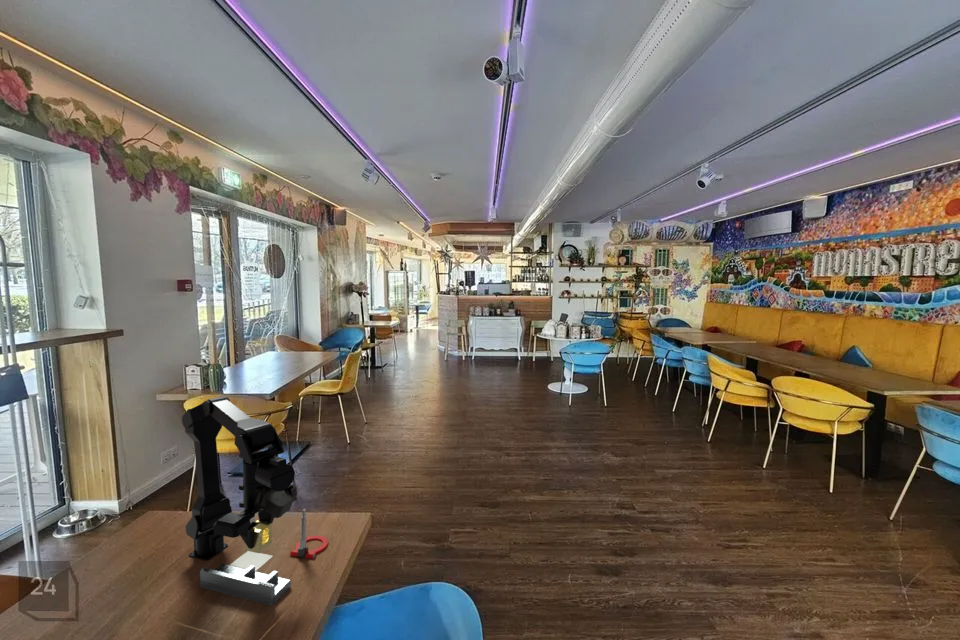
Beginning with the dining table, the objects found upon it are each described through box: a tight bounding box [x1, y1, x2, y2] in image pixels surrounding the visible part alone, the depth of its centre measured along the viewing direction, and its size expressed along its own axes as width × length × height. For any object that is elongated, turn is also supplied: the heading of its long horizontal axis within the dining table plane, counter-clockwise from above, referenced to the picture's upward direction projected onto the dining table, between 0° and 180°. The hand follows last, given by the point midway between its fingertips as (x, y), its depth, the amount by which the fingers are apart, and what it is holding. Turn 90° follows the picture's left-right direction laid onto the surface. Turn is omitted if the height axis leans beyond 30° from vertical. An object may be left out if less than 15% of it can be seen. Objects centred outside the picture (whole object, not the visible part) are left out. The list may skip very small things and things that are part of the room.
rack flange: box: [199, 563, 292, 607], centre depth 95 cm, size 20×6×4 cm, turn 76°
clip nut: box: [244, 519, 273, 553], centre depth 94 cm, size 4×4×5 cm
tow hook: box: [289, 508, 329, 560], centre depth 110 cm, size 8×13×9 cm
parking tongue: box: [229, 551, 274, 572], centre depth 104 cm, size 8×6×1 cm
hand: (258, 542), depth 94 cm, fingers closed on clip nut, 4 cm apart
